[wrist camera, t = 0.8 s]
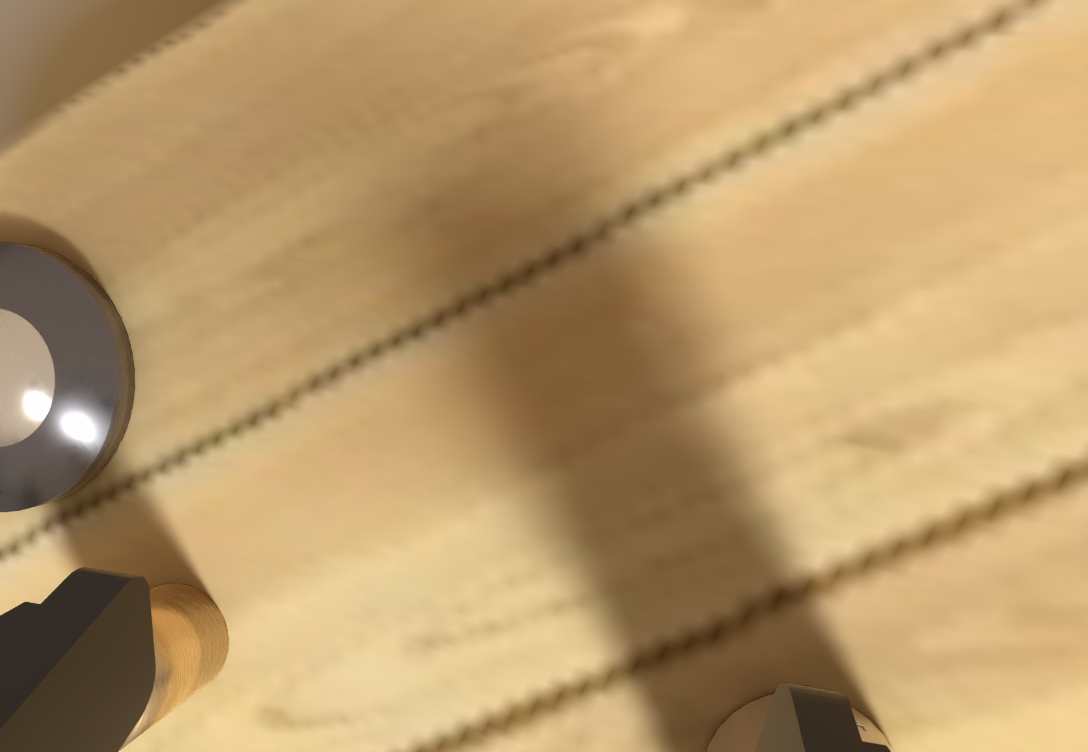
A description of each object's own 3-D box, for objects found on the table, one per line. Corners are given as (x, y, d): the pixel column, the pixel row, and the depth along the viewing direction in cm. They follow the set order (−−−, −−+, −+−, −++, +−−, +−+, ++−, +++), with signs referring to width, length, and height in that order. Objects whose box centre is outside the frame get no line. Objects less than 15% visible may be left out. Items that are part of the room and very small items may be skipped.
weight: (226, 698, 43) (93, 806, 33) (124, 683, 44) (-34, 785, 34) (231, 589, 43) (99, 666, 33) (129, 577, 44) (-30, 648, 34)
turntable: (129, 519, 43) (110, 525, 42) (-103, 492, 45) (-129, 497, 44) (140, 251, 42) (121, 248, 41) (-97, 237, 45) (-123, 233, 43)
